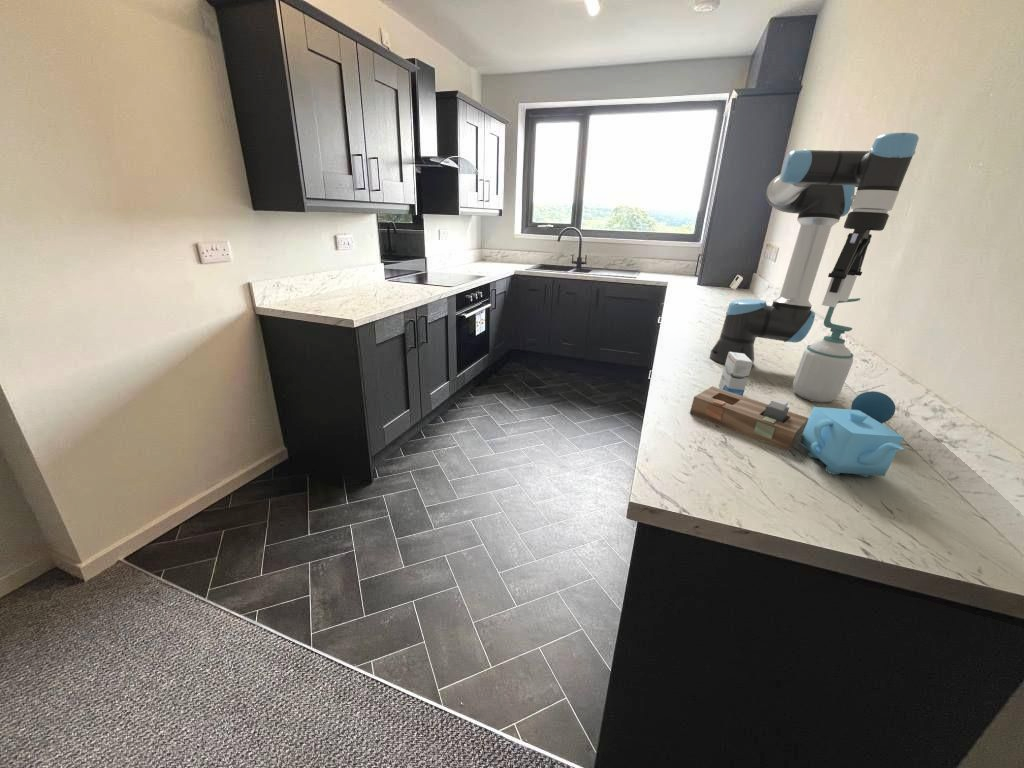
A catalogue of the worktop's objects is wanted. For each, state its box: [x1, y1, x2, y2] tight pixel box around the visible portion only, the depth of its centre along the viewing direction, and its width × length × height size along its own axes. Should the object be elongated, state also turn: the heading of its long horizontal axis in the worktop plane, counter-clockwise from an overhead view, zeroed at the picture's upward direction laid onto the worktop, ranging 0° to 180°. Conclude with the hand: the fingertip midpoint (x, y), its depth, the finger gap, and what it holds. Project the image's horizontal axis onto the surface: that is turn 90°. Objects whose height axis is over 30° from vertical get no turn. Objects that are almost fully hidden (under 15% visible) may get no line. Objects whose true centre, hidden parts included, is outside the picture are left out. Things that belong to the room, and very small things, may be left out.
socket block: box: [689, 386, 809, 452], centre depth 107 cm, size 12×24×5 cm, turn 43°
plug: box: [763, 397, 790, 423], centre depth 103 cm, size 4×4×8 cm
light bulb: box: [850, 390, 896, 424], centre depth 105 cm, size 8×8×12 cm
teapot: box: [799, 406, 905, 478], centre depth 88 cm, size 18×16×13 cm
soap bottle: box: [792, 297, 861, 403], centre depth 123 cm, size 12×12×31 cm
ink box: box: [718, 352, 754, 396], centre depth 126 cm, size 8×5×12 cm, turn 168°
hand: (834, 303), depth 103 cm, fingers open, 13 cm apart
